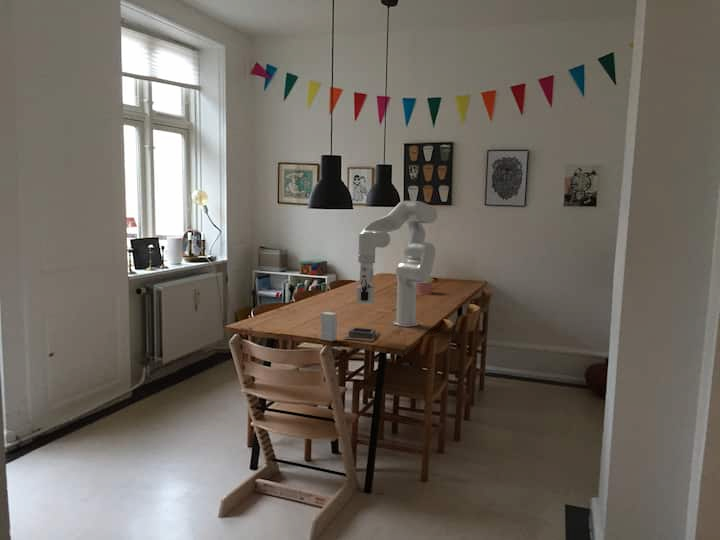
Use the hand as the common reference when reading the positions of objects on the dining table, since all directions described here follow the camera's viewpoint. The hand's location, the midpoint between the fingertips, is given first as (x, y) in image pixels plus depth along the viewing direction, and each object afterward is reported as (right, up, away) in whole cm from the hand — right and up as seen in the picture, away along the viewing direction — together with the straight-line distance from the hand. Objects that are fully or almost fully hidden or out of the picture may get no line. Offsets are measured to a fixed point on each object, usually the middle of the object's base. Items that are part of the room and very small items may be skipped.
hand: (365, 299), depth 259 cm
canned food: (+40, -2, +123) cm, 129 cm away
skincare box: (-16, -18, -4) cm, 25 cm away
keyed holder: (-1, -17, +2) cm, 17 cm away
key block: (0, -1, 0) cm, 1 cm away
